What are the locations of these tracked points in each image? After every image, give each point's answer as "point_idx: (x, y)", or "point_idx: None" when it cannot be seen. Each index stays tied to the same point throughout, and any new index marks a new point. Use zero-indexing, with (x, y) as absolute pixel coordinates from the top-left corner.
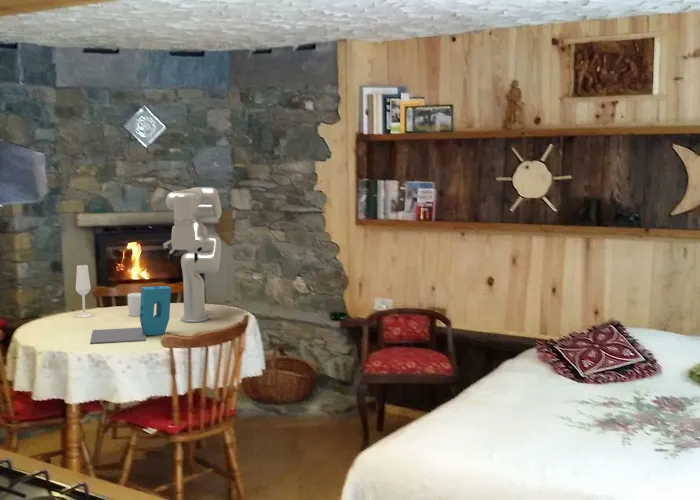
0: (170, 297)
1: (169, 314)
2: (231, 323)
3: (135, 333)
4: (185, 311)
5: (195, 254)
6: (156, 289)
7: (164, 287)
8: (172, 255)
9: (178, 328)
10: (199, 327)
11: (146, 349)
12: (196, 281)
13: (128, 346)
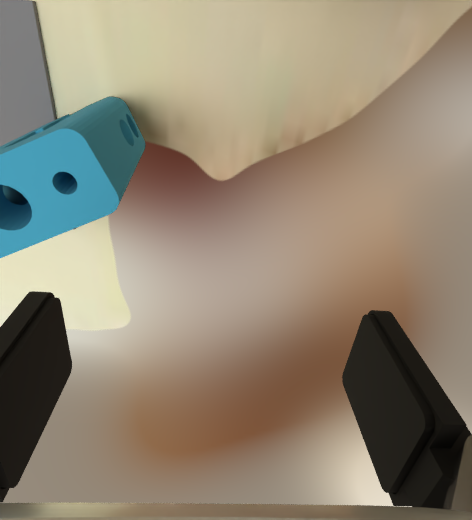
0: (129, 178)
1: (142, 151)
2: (457, 15)
3: (13, 125)
4: None
5: (395, 492)
6: (19, 249)
7: (64, 170)
8: (9, 478)
9: (197, 50)
10: (292, 59)
11: (93, 314)
12: None
13: (31, 274)
